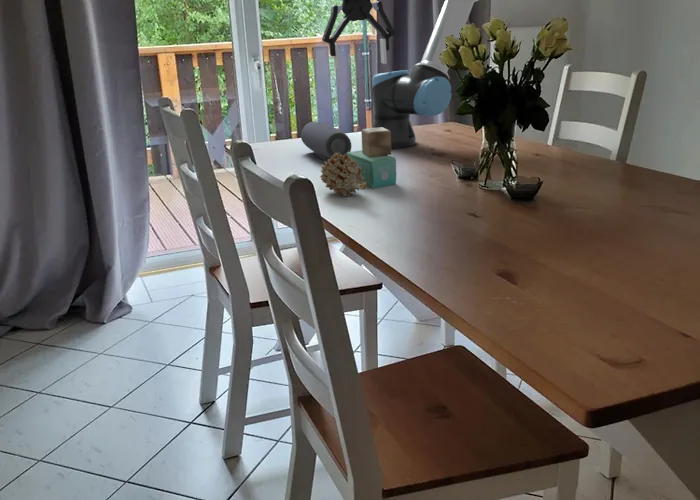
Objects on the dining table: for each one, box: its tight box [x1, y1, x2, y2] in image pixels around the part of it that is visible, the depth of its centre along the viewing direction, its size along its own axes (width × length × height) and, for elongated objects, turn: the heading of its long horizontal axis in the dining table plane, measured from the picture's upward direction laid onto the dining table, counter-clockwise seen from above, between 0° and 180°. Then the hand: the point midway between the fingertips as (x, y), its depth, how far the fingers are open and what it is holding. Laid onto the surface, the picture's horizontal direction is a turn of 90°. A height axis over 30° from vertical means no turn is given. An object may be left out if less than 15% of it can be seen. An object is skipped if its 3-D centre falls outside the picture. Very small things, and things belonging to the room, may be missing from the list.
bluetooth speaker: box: [300, 121, 352, 162], centre depth 212 cm, size 23×9×10 cm, turn 22°
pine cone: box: [319, 153, 367, 197], centre depth 169 cm, size 22×10×10 cm, turn 28°
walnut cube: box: [361, 127, 392, 157], centre depth 180 cm, size 6×6×6 cm
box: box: [347, 149, 397, 190], centre depth 182 cm, size 7×14×8 cm, turn 29°
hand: (360, 65), depth 194 cm, fingers open, 13 cm apart
